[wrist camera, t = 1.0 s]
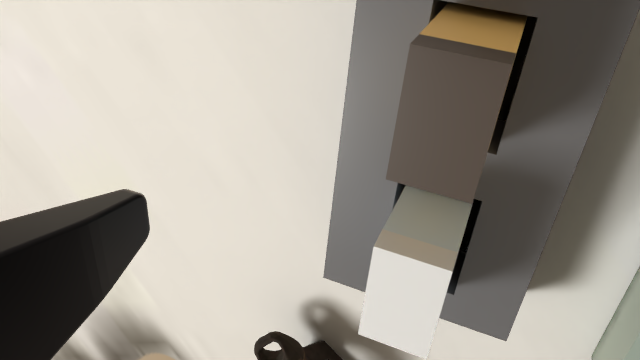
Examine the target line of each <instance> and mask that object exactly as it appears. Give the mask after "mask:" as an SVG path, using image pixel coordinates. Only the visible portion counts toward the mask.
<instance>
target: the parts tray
mask: <svg viewBox="0 0 640 360" xmlns="http://www.w3.org/2000/svg"><path fill="white" fill-rule="evenodd" d="M592 360H640V267H639V269H638V271H637V273H636V274H635V276H634V278H633V280H632V282H631V284H630V286H629V287H628V289H627V291H626V293H625V295H624V297H623V299H622V300H621V302H620V304H619V306H618V308H617V310H616V312H615V313H614V315H613V317H612V319H611V321H610V323H609V325H608V326H607V328H606V330H605V332H604V334H603V336H602V338H601V339H600V341H599V343H598V345H597V347H596V349H595V351H594V352H593V354H592Z"/></svg>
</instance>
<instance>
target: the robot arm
mask: <svg viewBox="0 0 640 360" xmlns="http://www.w3.org/2000/svg"><path fill="white" fill-rule="evenodd" d="M149 230H150V225H149V217H148V209H147V201H146V198H145V197H144V195H142V194H141V193H138V192H134V191H131V190H127V189H122V190H118V191H115V192H111V193H107V194H103V195H100V196H96V197H92V198H88V199H84V200H81V201H77V202H73V203H69V204H66V205H62V206H58V207H54V208H51V209H47V210H43V211H39V212H35V213H32V214H28V215H24V216H20V217H17V218H13V219H9V220H5V221H2V222H0V360H51V359H52V358H53V357H54V355H55V354H56V353H57V352H58V351H59V350H60V349H61V347H62V346H63V345H64V344H65V343H66V342H67V341H68V339H69V338H70V337H71V336H72V335H73V334H74V333H75V331H76V330H77V329H78V328H79V327H80V326H81V325H82V323H83V322H84V321H85V320H86V319H87V318H88V317H89V315H90V314H91V313H92V312H93V311H94V310H95V309H96V307H97V306H98V305H99V304H100V303H101V301H102V300H103V299H104V298H105V296H106V295H107V294H108V292H109V291H110V290H111V288H112V287H113V286H114V284H115V283H116V281H117V280H118V279H119V277H120V276H121V274H122V273H123V272H124V270H125V269H126V267H127V266H128V265H129V263H130V262H131V260H132V259H133V258H134V256H135V255H136V253H137V252H138V251H139V249H140V248H141V246H142V245H143V244H144V242H145V241H146V239H147V237H148V234H149Z"/></svg>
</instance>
